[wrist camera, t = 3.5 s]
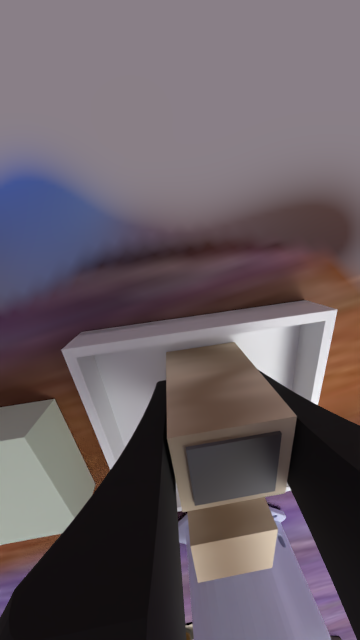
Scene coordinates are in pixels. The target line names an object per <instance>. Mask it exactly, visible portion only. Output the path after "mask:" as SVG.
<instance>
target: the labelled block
mask: <svg viewBox="0 0 360 640" xmlns="http://www.w3.org/2000/svg"><path fill="white" fill-rule="evenodd" d="M166 396H167V440H168V445H169V450H170V455H171V459H172V464H173V469H174V474H175V479H176V483H177V488H178V493H179V498H180V502H181V507H182V512H187V511H192V510H198V509H203V508H208V507H214V506H219V505H224V504H230V503H235V502H240V501H246V500H251V499H257V498H262V497H267V496H273V495H278V494H283V493H285V491H286V485H287V478H288V472H289V465H290V459H291V452H292V446H293V439H294V433H295V426H296V419H297V416H296V415H295V413H294V412H293V411H292V410H291V409H290V407H289V406H288V405H287V404H286V403H285V401H284V400H283V399H282V398H281V397H280V396H279V394H278V393H277V392H276V391H275V390H274V388H273V387H272V386H271V385H270V384H269V382H268V381H267V380H266V379H265V378H264V377H263V375H262V374H261V373H260V372H259V371H258V369H257V368H256V367H255V366H254V365H253V363H252V362H251V361H250V360H249V359H248V358H247V356H246V355H245V354H244V353H243V352H242V350H241V349H240V348H239V347H238V346H237V344H236V343H235V342H231V343H224V344H218V345H211V346H204V347H198V348H191V349H184V350H178V351H171V352H166Z"/></svg>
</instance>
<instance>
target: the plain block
mask: <svg viewBox="0 0 360 640" xmlns="http://www.w3.org/2000/svg"><path fill="white" fill-rule="evenodd" d="M187 514H188V525H189V536H190V547H191V552H192V556H193V561H194V566H195V571H196V576H197V581H198V583H200V582H205V581H210V580H215V579H220V578H225V577H230V576H235V575H239V574H244V573H249V572H254V571H259V570H264V569H269V568H272V566H273V560H274V553H275V546H276V539H277V533H278V528H277V525H276V523H275V521H274V518H273V516H272V513H271V511H270V509H269V506H268V504H267V502H266V499H265V497H262V498H257V499H251V500H246V501H240V502H235V503H230V504H224V505H219V506H214V507H208V508H203V509H198V510H192V511H187Z"/></svg>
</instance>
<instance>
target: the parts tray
mask: <svg viewBox="0 0 360 640" xmlns="http://www.w3.org/2000/svg"><path fill="white" fill-rule="evenodd" d="M336 314H337V309H334V308H330V307H327V306H324V305H320V304H317V303H313V302H310V301H307V300H303V301H296V302H288V303H281V304H274V305H267V306H260V307H253V308H246V309H239V310H232V311H225V312H218V313H211V314H204V315H197V316H190V317H183V318H176V319H169V320H162V321H155V322H148V323H141V324H134V325H127V326H120V327H113V328H106V329H99V330H92V331H85V332H81V333H80V334H79V335H77V336H76V337H75V338H74V339H73V340H72V341H71V342H69V343H68V344H67V345H66V346H65V347H64V348H63V349H61V351H62V353H63V356H64V358H65V361H66V363H67V366H68V368H69V370H70V373H71V375H72V378H73V380H74V383H75V385H76V387H77V390H78V392H79V395H80V397H81V400H82V402H83V405H84V407H85V409H86V412H87V414H88V417H89V419H90V422H91V424H92V426H93V429H94V431H95V434H96V436H97V439H98V441H99V444H100V446H101V448H102V451H103V453H104V456H105V458H106V461H107V463H108V465H109V468H110V470H111V468H112V467H113V465H114V464H115V463H116V461H117V460H118V458H119V457H120V455H121V453H122V452H123V450H124V449H125V447H126V445H127V444H128V442H129V440H130V439H131V437H132V435H133V433H134V432H135V430H136V428H137V426H138V424H139V422H140V420H141V419H142V417H143V415H144V412H145V410H146V408H147V406H148V404H149V402H150V399H151V397H152V395H153V392H154V389H155V387H156V383H157V382H158V381H163V380H166V352H171V351H178V350H184V349H191V348H198V347H204V346H211V345H218V344H224V343H231V342H235V343H236V344H237V346H238V347H239V348H240V349H241V350H242V352H243V353H244V354H245V355H246V356H247V358H248V359H249V360H250V361H251V362H252V363H253V365H254V366H255V367H256V368H257V369H258V370H260V371H261V372H263V373H264V374H266V375H267V376H269V377H271V378H272V379H274V380H275V381H277V382H278V383H280V384H282V385H283V386H285V387H287V388H288V389H290V390H292V391H293V392H295V393H297V394H298V395H300V396H302V397H304V398H305V399H307V400H309V401H311V402H313V403H314V404H316V405H318V402H319V397H320V392H321V387H322V382H323V378H324V373H325V368H326V363H327V358H328V353H329V348H330V343H331V339H332V334H333V329H334V324H335V319H336ZM286 491H291V489H290V487H289V485H288V483H287V485H286ZM176 499H177V512H178V511H182V507H181V502H180V498H179V493H178V488H177V483H176Z"/></svg>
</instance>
